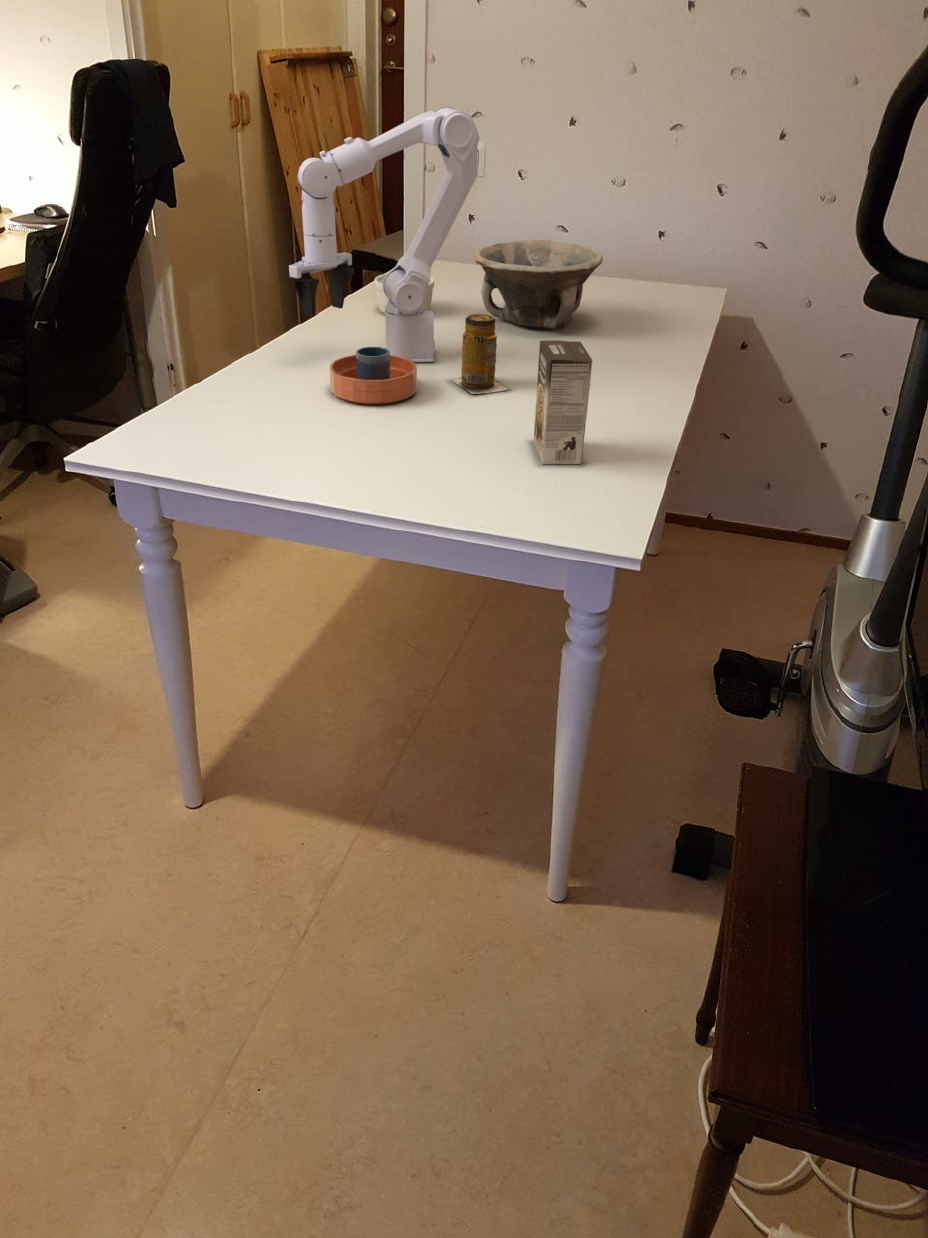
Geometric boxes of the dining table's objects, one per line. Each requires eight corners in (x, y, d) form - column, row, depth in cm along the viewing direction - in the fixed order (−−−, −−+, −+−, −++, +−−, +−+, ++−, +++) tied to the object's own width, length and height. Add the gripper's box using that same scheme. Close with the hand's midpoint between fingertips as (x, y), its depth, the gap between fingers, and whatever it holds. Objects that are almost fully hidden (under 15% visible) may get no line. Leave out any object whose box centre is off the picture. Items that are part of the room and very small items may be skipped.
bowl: (453, 330, 199) (455, 256, 191) (497, 301, 220) (500, 233, 212) (575, 347, 191) (582, 271, 183) (608, 316, 212) (616, 246, 204)
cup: (390, 382, 168) (389, 346, 165) (390, 393, 164) (390, 356, 160) (357, 382, 168) (356, 346, 164) (357, 393, 163) (355, 356, 160)
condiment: (486, 376, 175) (489, 310, 168) (508, 390, 168) (511, 322, 162) (451, 380, 172) (452, 314, 165) (471, 395, 166) (473, 327, 159)
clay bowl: (414, 377, 173) (414, 353, 170) (418, 406, 160) (418, 380, 158) (332, 377, 172) (331, 353, 169) (329, 406, 159) (328, 380, 157)
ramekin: (432, 320, 205) (432, 287, 202) (372, 318, 205) (371, 285, 202) (435, 304, 216) (435, 273, 213) (378, 302, 217) (377, 271, 213)
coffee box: (531, 441, 149) (538, 339, 140) (571, 441, 149) (581, 339, 140) (540, 465, 141) (548, 358, 132) (582, 464, 141) (593, 358, 133)
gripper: (330, 224, 174) (333, 299, 181) (274, 236, 164) (280, 315, 171) (359, 229, 171) (361, 306, 178) (303, 242, 161) (308, 322, 168)
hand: (323, 311), depth 174 cm, fingers open, 7 cm apart
